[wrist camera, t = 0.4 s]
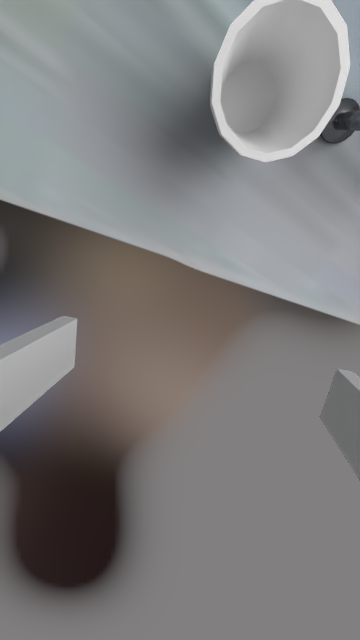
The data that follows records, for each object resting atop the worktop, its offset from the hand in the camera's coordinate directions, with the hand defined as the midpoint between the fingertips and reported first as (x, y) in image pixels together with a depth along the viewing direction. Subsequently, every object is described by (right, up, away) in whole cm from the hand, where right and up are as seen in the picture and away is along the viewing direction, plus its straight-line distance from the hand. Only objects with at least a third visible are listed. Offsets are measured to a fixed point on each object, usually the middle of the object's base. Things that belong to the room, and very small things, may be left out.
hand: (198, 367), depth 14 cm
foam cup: (+6, +27, +16) cm, 32 cm away
